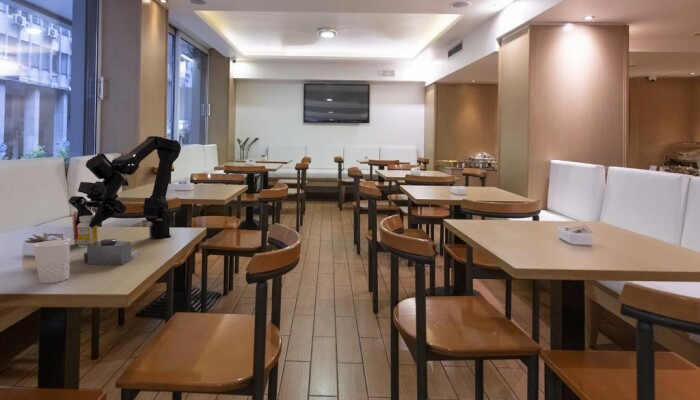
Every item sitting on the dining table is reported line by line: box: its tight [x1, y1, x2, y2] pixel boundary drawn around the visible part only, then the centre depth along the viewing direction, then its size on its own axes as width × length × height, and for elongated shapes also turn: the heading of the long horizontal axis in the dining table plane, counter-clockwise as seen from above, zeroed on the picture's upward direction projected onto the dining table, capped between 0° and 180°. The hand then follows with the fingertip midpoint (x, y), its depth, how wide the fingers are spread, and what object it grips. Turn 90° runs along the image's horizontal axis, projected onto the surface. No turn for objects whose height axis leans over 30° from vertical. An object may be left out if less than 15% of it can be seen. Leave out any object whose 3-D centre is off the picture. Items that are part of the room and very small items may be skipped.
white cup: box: [33, 239, 71, 284], centre depth 116 cm, size 8×8×10 cm
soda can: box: [72, 209, 95, 246], centre depth 158 cm, size 7×7×12 cm
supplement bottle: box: [77, 216, 99, 249], centre depth 139 cm, size 5×5×10 cm
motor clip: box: [83, 238, 141, 266], centre depth 136 cm, size 12×12×7 cm
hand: (83, 226), depth 137 cm, fingers closed on supplement bottle, 5 cm apart
